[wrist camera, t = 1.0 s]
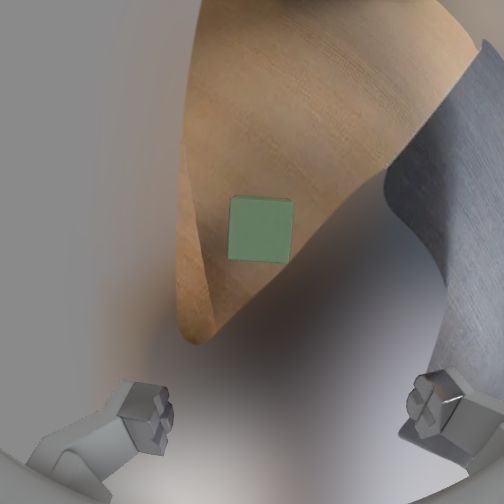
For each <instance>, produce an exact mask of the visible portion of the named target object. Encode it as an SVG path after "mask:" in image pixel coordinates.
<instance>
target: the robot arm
mask: <svg viewBox="0 0 504 504" xmlns="http://www.w3.org/2000/svg"><path fill="white" fill-rule="evenodd" d="M414 386H415V389H413V390H412V392H410V394H409V396H408V399H407V406H406V407H407V412H408V414H409V416H410V418H412V419H414V420H415V421H416V423H415V428H416V430H417V431H418V433H419V435H420V437H421V439H424V438H427V437H430V436H433V435H436V434H439V433H441V435H442V436H444V437H445V438H446V439H448V440H449V441H451V442H452V443H454V444H455V445H457V446H458V447H460V448H461V449H462V450H464V451H465V452H467V453H468V454H470V455H471V456H473V457H474V458H473V459H472V460H471V461H470V462H469V464H468V465H467V467H466V470H467V472H468V474H469V477H467V478H465V479H463V480H461V481H460V482H458V483H455V484H454V485H451V486H449V487H447V488H445V489H443V490H441V491H439V492H437V493H434V494H432V495H429V496H427V497H425V498H422V499H420V500H417V501H414V502H412V503H409V504H504V401H501V400H499V399H496V398H494V397H491V396H489V395H487V394H484V393H482V392H479V391H476V392H475V391H474V390H473V389H472V387H471V386H470V385H469V384H468V383H467V381H466V380H465V379H464V378H463V377H462V375H461V374H460V373H459V372H458V371H457V370H456V368H454V367H449V368H445V369H441V370H438V371H434V372H430V373H426V374H422V375H419V376H418V377H417V378H416V379H415V382H414ZM168 398H169V393H168V389H167V388H166V387H164V386H157V385H152V384H146V383H140V382H133V381H128V380H121V381H120V382H119V383H118V384H117V386H116V388H115V389H114V391H113V393H112V394H111V396H110V398H109V399H108V401H107V403H106V404H105V406H104V408H103V410H102V411H101V412H99V411H96V412H94V413H92V414H91V415H89V416H87V417H85V418H83V419H81V420H79V421H77V422H75V423H73V424H70V425H68V426H66V427H64V428H62V429H60V430H58V431H56V432H54V433H52V434H49V435H47V436H45V437H43V438H42V439H41V441H40V442H39V444H38V446H37V447H36V449H35V450H34V452H33V453H32V455H31V456H30V458H29V460H28V461H27V463H26V464H23V463H21V462H20V461H18V460H17V459H15V458H14V457H12V456H11V455H9V454H8V453H6V452H5V451H3V450H2V449H0V504H110V502H111V499H112V494H111V492H110V491H109V490H108V489H107V488H106V487H105V485H104V484H103V483H102V481H103V480H105V479H106V478H107V477H109V476H110V475H111V474H113V473H114V472H115V471H117V470H118V469H119V468H120V467H121V466H123V465H124V464H125V463H127V462H128V461H129V460H130V459H132V458H133V457H134V456H135V455H137V454H138V452H142V453H147V454H153V455H159V456H164V452H165V449H166V446H167V442H168V440H167V437H166V434H167V433H169V432H170V431H171V429H172V426H173V418H174V413H173V407H172V404H170V403H169V402H168Z"/></svg>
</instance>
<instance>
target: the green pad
mask: <svg viewBox="0 0 504 504" xmlns="http://www.w3.org/2000/svg"><path fill="white" fill-rule="evenodd" d="M293 209H294V203H293V202H292V201H290V200H289V199H286V198H273V197H259V196H243V195H234V196H233V197H232V198H230V210H229V230H228V253H227V258H228V259H229V260H244V261H259V262H275V263H288V262H289V252H290V242H291V232H292V220H293Z"/></svg>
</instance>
